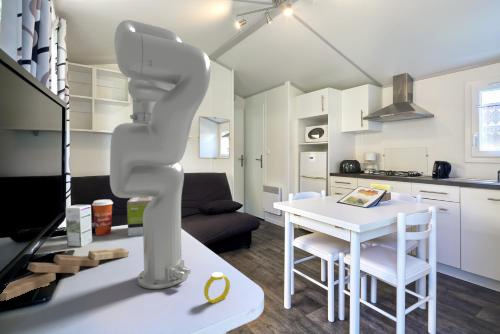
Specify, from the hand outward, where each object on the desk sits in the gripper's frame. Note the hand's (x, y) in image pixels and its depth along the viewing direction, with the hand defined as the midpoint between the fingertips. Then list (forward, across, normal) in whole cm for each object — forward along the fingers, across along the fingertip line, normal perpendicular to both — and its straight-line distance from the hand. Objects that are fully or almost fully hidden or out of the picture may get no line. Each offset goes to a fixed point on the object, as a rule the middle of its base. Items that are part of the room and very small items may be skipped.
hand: (145, 171), depth 89 cm
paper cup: (+27, +1, +30) cm, 41 cm away
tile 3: (+25, -30, 0) cm, 39 cm away
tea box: (+27, +12, +19) cm, 35 cm away
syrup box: (+27, -11, +24) cm, 38 cm away
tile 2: (+26, -23, +1) cm, 35 cm away
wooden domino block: (+27, -31, -1) cm, 41 cm away
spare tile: (+26, -9, 0) cm, 28 cm away
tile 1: (+26, -17, +1) cm, 32 cm away
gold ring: (+27, -14, -43) cm, 53 cm away
